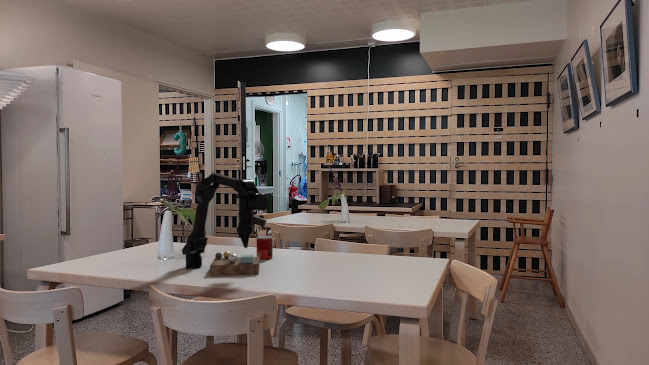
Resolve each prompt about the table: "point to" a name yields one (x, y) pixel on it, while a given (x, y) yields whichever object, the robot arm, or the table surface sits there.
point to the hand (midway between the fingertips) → (246, 247)
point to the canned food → (264, 247)
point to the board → (234, 267)
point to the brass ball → (226, 254)
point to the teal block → (246, 258)
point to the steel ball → (232, 258)
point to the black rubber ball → (218, 255)
